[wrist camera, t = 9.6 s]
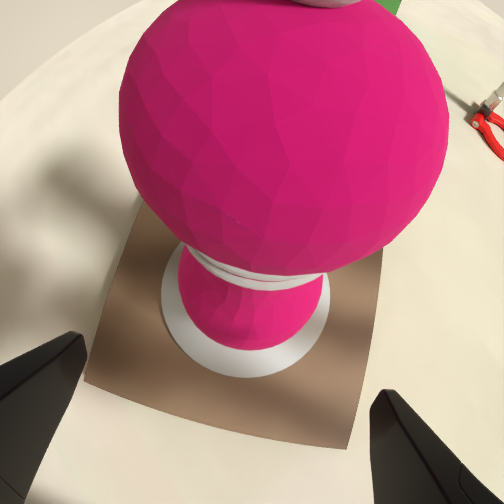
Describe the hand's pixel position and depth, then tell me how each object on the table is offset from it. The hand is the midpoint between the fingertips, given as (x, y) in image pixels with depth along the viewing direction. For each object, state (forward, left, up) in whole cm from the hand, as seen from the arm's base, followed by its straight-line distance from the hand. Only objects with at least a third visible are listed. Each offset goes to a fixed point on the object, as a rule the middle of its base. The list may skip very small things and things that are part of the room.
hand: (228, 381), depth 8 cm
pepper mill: (+5, 0, -11) cm, 12 cm away
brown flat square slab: (+5, 0, -13) cm, 14 cm away
